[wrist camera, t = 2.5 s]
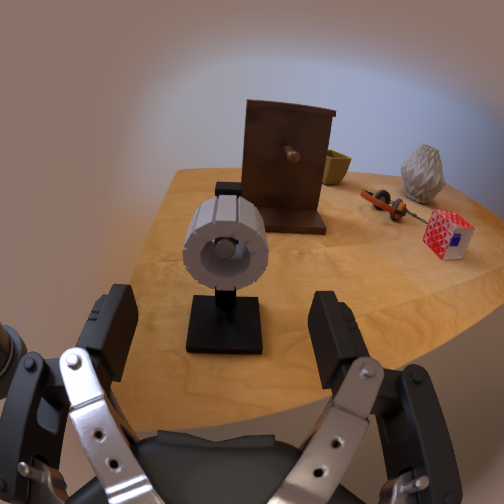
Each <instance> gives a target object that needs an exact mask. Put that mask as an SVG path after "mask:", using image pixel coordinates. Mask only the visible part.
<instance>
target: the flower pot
mask: <svg viewBox="0 0 504 504" xmlns="http://www.w3.org/2000/svg"><path fill="white" fill-rule="evenodd" d="M350 162H351V158H350V157H347V156H345V155H343V154H340V153H338V152H335V151H333V150H328V151H327V157H326V163H325V169H324V175H323V180H322V183H324V184H326V185H330V184H338V183H339V182H340V181H341V180H342V179H343V178H344V176H345V174H346V173H347V170H348V167H349V164H350Z"/></svg>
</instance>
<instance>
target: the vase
mask: <svg viewBox="0 0 504 504" xmlns="http://www.w3.org/2000/svg"><path fill="white" fill-rule="evenodd" d="M401 173H402V180H403V186H404V188H405V190H406V193H405V195H406V196H408V198H411V199H412V200H414V201H416V202H420V203H422V204H427V203H428V202H429V200H432V199H434V197H435V196H436V195H437V194H438V193H439V192H440V191H441V189H442V188H443V187H444V186H445V181H444V176H443V173H442V162H441V160H440V155H439V150H437V149H435V148H432V147H431V146H427V145H424V144H421V146H420V147H418V149H417V150H416V151H414V152H413V153H412V155H411V157H410V159H409V160H407V161H405V163H404V164H403V165H402V167H401Z"/></svg>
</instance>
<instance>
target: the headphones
mask: <svg viewBox="0 0 504 504" xmlns="http://www.w3.org/2000/svg"><path fill="white" fill-rule="evenodd" d="M360 195H361V196H362V197H363V198H365V199H366V200H368V201H369V202H371V203H373V205H374V207H375V208H376V209H378V210H383V209H384V210H386V211H388V212H390V217H391V218H392V219H395V218H396V219H398V220H399V219H401V218H402V217H403V216H405V214H406V212H407V213H409V214H411V215H412V214H413V213H411V212H410V211H408V209H406V204H405V203H404V202H403V201H402V200H401V199H400V198H399V199H397V200H396V201H395V202H394V201H392V202H393V203H394V204H393V206H390V205H389V203H390V201H391V200H390V194H389V193H388V192H387V191H385V190H377V191H376V192H374V193H371V192H368V191H365V190H362V191H361V194H360ZM391 204H392V203H391ZM412 216H413V217H415V216H416V217H415V218H417V219H419V220H420V219H421V218H419V217H417V215H416V214H414V215H412ZM422 220H423V219H421V220H420V221H422ZM424 221H425V220H423V221H422V222H424ZM424 223H426V224H428V222H426V221H425V222H424Z"/></svg>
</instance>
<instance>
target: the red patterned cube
mask: <svg viewBox="0 0 504 504" xmlns="http://www.w3.org/2000/svg"><path fill="white" fill-rule="evenodd" d="M474 231H475V228H474V227H472V226H471V225H470V224H469V223H468V222H466V221H465V220H464V219H463V218H461V217H460V216H459V215H458V214H456V213H455V212H453V211H446V210H439V209H433V212H432V215H431V218H430V221H429V223H428V226H427V229H426V231H425V234H424V237H423V239H422V240H423V241H424V242H425V243H426V244H427V245H428V246H429V247H430V248H431V249H432V250H433V251H434V252H435V253H436V254H437V255H438V256H439V257H440V258H441V259H442V260H453V259H462V258H463V256H464V253H465V251H466V249H467V247H468V245H469V242H470V240H471V238H472V235H473V233H474Z"/></svg>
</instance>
